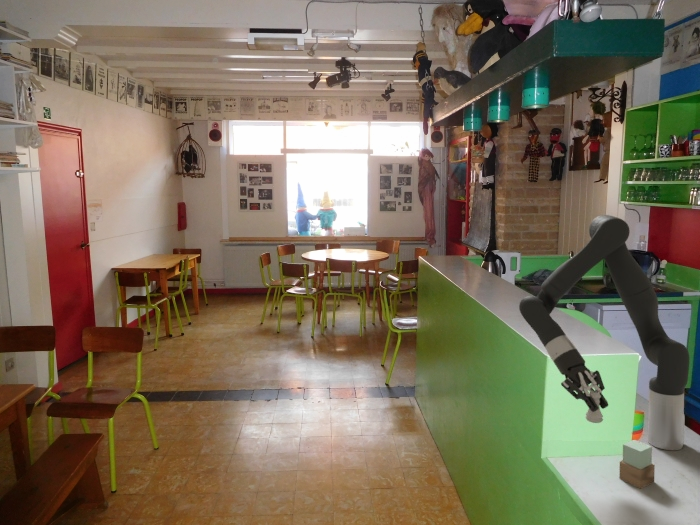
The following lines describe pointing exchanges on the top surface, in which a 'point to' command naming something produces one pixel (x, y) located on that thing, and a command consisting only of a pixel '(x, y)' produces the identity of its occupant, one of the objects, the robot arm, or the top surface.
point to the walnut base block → (637, 474)
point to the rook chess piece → (596, 416)
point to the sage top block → (637, 454)
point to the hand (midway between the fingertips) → (600, 408)
